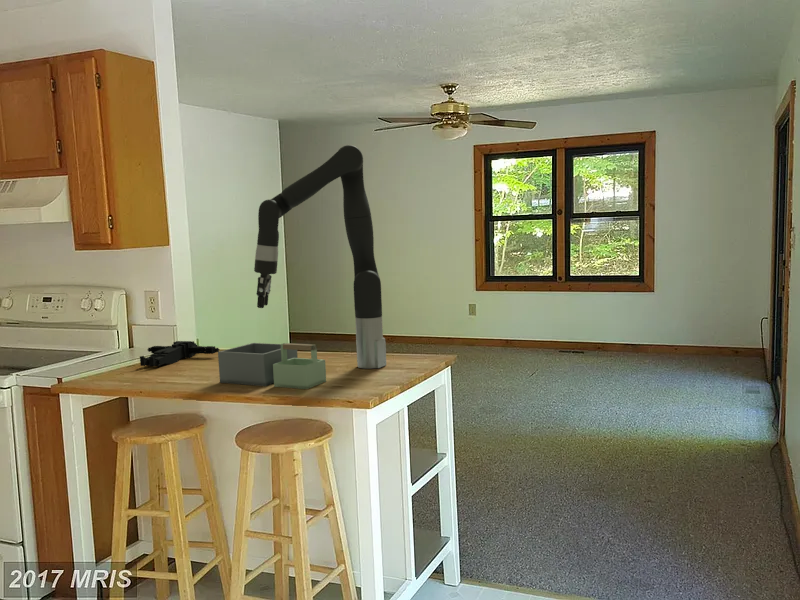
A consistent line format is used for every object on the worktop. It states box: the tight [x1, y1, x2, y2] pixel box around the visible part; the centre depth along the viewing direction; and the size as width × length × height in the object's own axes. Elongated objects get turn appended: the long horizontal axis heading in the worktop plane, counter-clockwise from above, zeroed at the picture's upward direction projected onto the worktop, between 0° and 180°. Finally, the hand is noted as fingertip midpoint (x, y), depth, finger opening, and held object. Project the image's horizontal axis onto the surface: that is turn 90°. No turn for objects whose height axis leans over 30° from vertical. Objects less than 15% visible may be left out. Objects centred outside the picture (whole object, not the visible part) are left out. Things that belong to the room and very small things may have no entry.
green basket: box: [273, 342, 327, 390], centre depth 223 cm, size 12×11×12 cm
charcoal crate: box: [217, 342, 299, 387], centre depth 234 cm, size 18×18×10 cm
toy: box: [139, 340, 220, 367], centre depth 272 cm, size 31×6×30 cm
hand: (262, 306), depth 244 cm, fingers open, 8 cm apart
